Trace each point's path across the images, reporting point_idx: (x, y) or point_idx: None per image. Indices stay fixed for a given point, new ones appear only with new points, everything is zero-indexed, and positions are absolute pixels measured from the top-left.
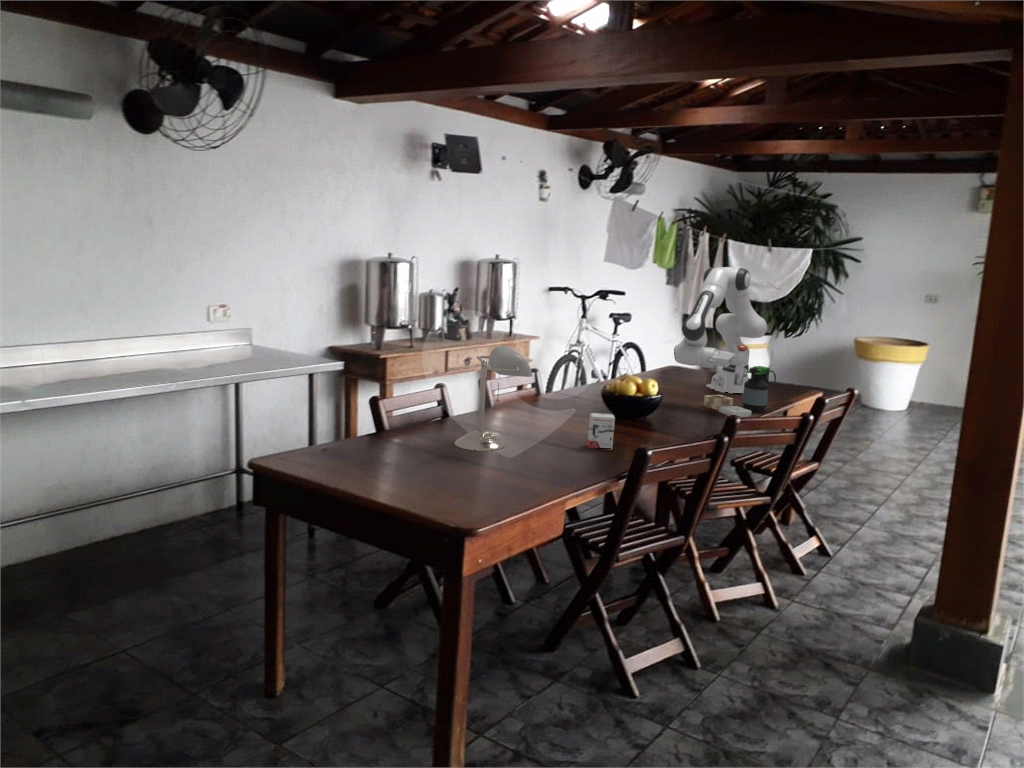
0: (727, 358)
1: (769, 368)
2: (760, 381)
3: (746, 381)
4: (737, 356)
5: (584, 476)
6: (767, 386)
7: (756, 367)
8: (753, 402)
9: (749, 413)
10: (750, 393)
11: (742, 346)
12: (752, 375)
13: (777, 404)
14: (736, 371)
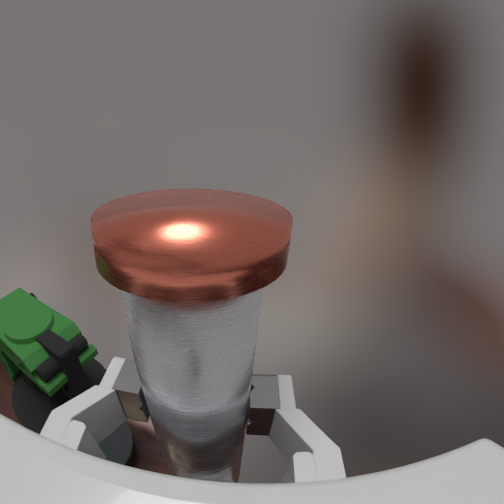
0: (485, 450)
1: (23, 292)
2: (83, 369)
3: (38, 423)
4: (231, 395)
5: None
6: (95, 360)
7: (39, 331)
8: (128, 445)
9: None
10: (112, 440)
11: (248, 209)
12: (80, 384)
13: (2, 365)
14: (233, 472)
